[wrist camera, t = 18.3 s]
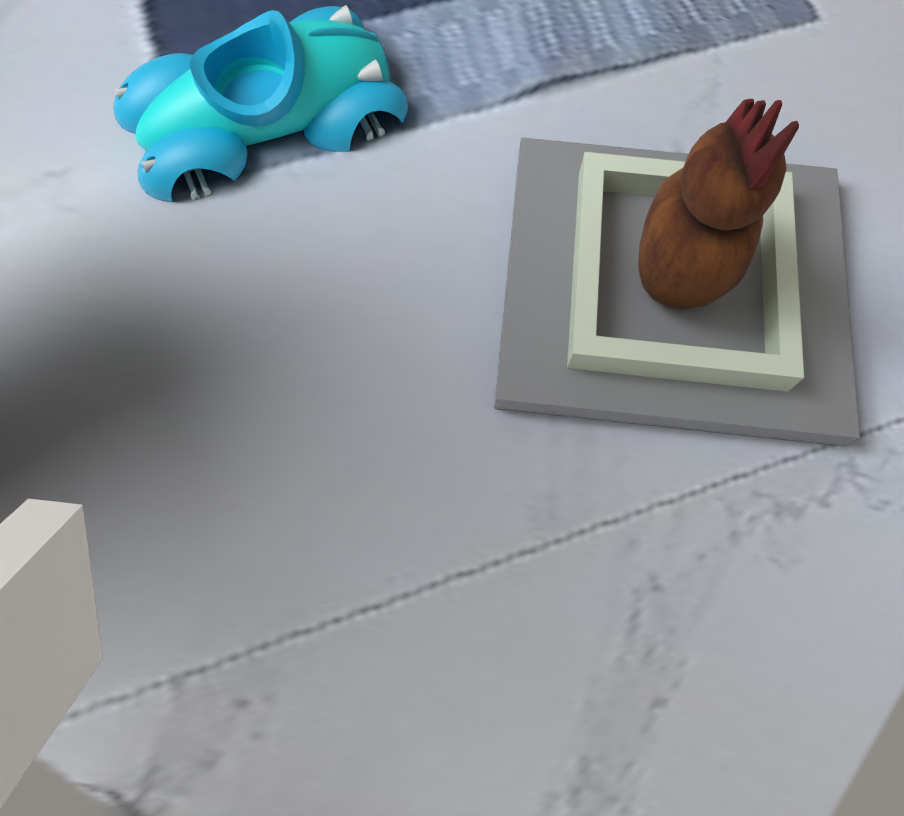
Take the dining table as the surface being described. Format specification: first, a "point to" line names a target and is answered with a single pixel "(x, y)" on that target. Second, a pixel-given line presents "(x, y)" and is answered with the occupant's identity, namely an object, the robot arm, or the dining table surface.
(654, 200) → the wooden figurine
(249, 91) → the toy car
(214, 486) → the dining table surface
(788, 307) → the jig plate
